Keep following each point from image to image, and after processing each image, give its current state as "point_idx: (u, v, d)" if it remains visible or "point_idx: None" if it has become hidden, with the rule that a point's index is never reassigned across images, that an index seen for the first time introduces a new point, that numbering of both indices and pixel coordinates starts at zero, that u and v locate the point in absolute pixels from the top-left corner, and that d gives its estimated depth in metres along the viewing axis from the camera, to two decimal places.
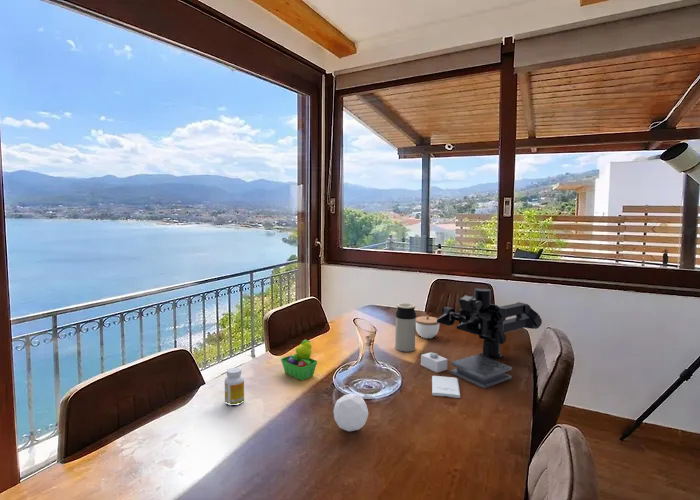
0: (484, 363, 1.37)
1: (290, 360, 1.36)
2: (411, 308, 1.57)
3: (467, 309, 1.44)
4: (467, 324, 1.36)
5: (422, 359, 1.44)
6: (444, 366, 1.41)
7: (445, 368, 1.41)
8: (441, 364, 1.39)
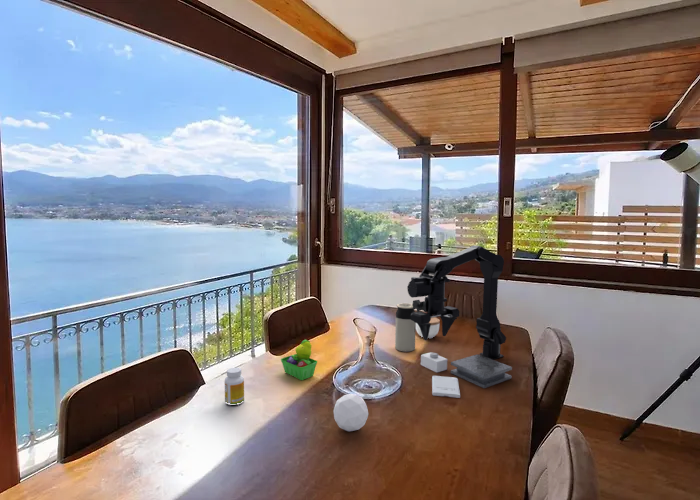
0: (484, 363, 1.37)
1: (290, 360, 1.36)
2: (411, 308, 1.57)
3: None
4: (421, 330, 1.39)
5: (422, 359, 1.44)
6: (444, 366, 1.41)
7: (445, 368, 1.41)
8: (441, 364, 1.40)
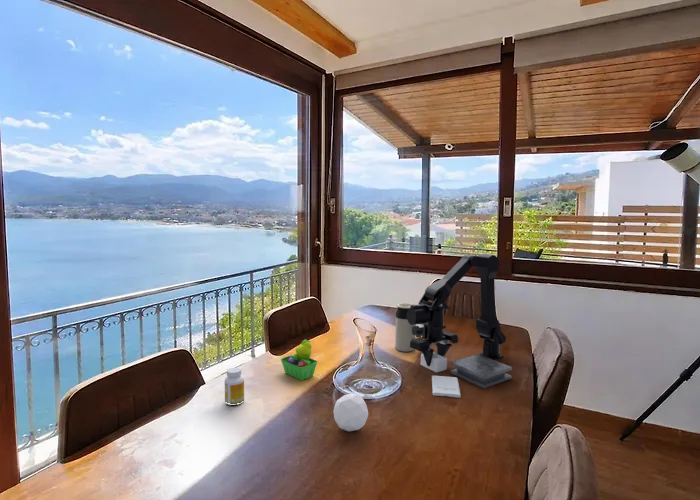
0: (484, 363, 1.37)
1: (290, 360, 1.36)
2: None
3: None
4: (424, 355, 1.41)
5: (422, 358, 1.44)
6: (444, 365, 1.41)
7: (445, 367, 1.41)
8: (441, 363, 1.40)
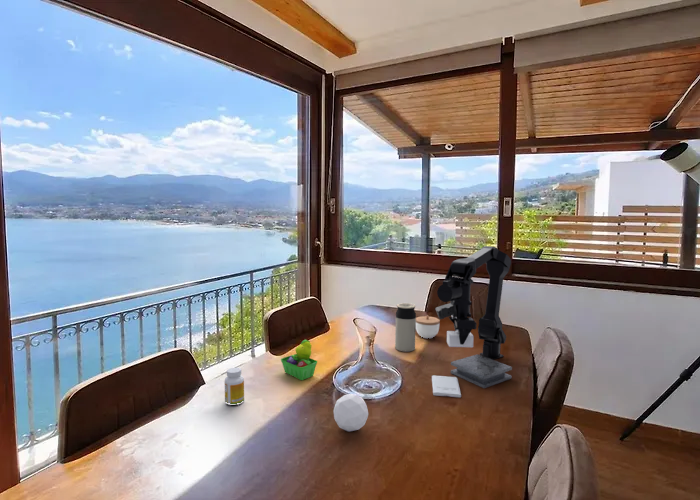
0: (484, 363, 1.37)
1: (290, 360, 1.36)
2: (411, 308, 1.57)
3: None
4: (460, 334, 1.34)
5: (451, 339, 1.36)
6: None
7: None
8: None
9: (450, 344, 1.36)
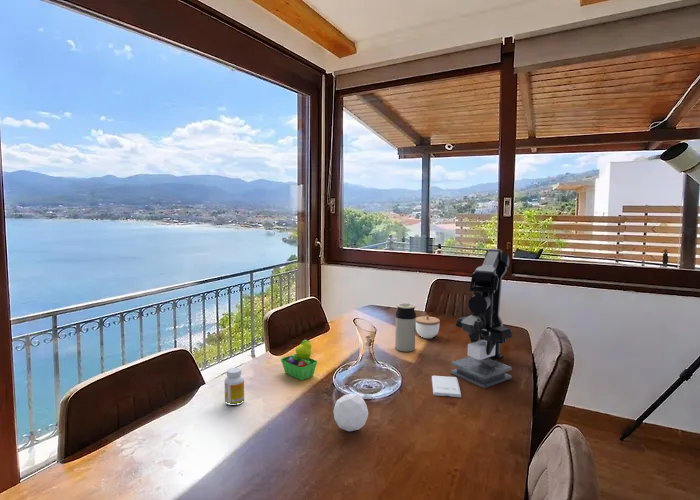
0: (484, 363, 1.37)
1: (290, 360, 1.36)
2: (411, 308, 1.57)
3: None
4: (490, 345, 1.31)
5: (481, 352, 1.31)
6: None
7: None
8: None
9: (480, 357, 1.31)
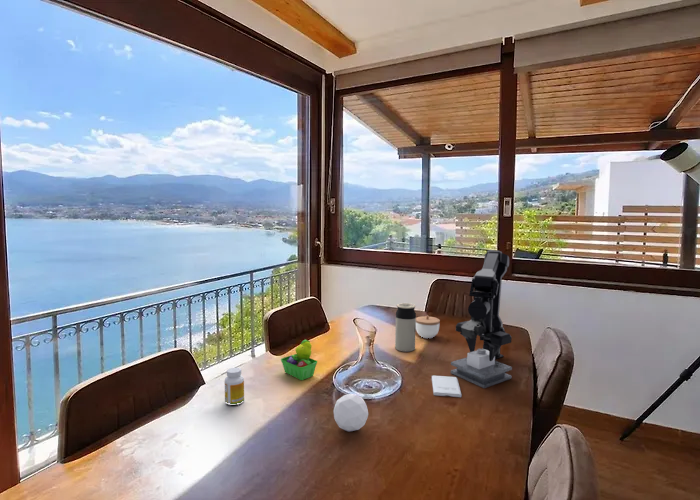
0: None
1: (290, 360, 1.36)
2: (411, 308, 1.57)
3: None
4: (493, 351, 1.31)
5: (481, 361, 1.32)
6: None
7: None
8: None
9: (479, 366, 1.32)
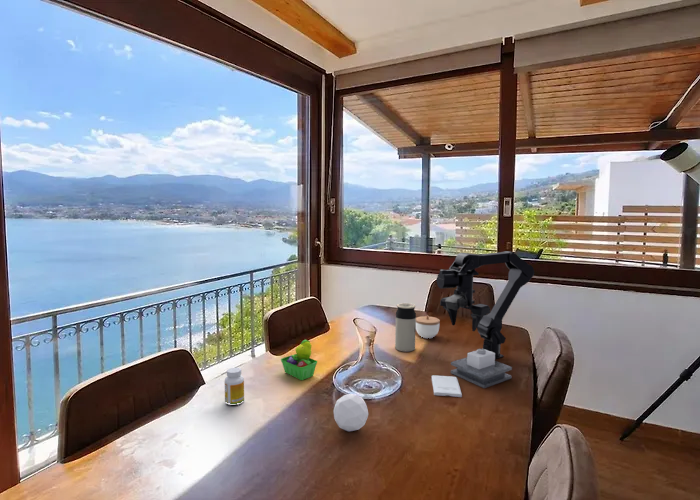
0: None
1: (290, 360, 1.36)
2: (411, 308, 1.57)
3: None
4: (475, 322, 1.45)
5: (481, 361, 1.32)
6: None
7: None
8: None
9: (479, 366, 1.32)
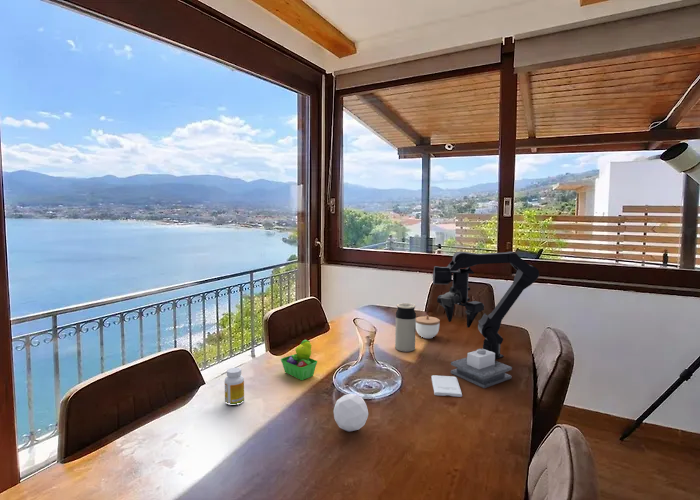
0: None
1: (290, 360, 1.36)
2: (411, 308, 1.57)
3: None
4: (470, 318, 1.49)
5: (481, 361, 1.32)
6: None
7: None
8: None
9: (479, 366, 1.32)
